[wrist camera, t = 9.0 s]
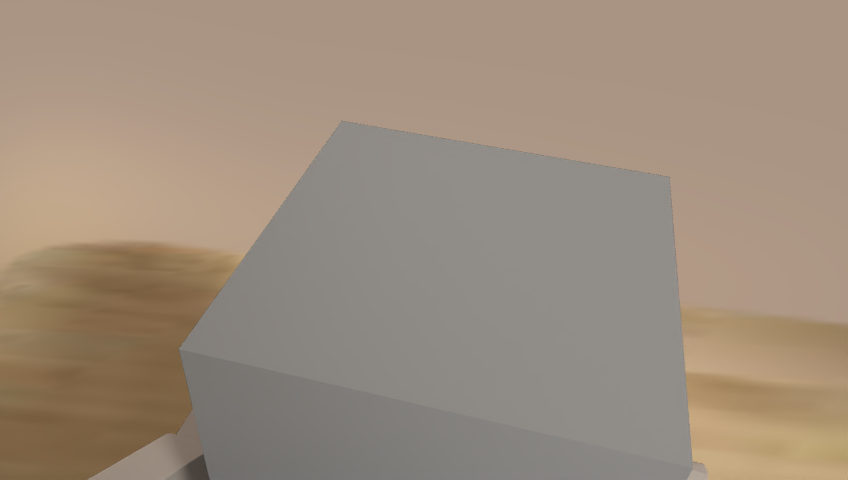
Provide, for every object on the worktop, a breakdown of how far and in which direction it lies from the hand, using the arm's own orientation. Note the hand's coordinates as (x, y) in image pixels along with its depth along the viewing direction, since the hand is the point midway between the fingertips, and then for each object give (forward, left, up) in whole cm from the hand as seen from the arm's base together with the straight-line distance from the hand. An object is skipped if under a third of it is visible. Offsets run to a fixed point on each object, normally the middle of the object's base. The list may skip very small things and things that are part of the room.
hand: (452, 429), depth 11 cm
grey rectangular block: (0, +1, -7) cm, 7 cm away
